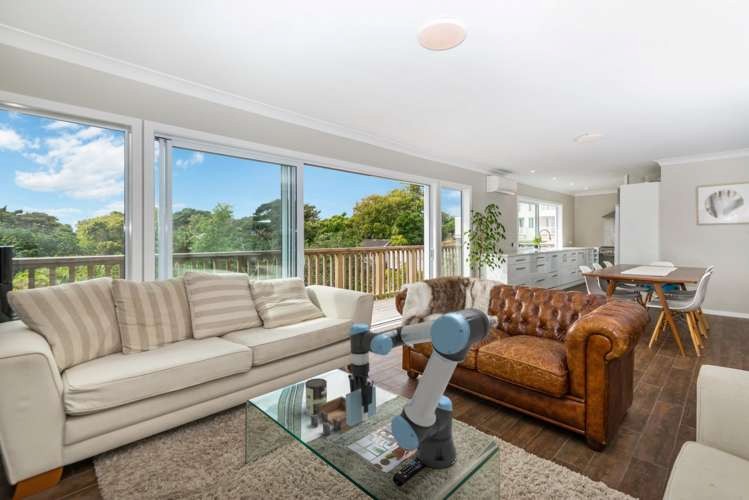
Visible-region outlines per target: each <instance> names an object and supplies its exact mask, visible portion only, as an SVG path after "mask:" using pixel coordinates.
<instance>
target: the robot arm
mask: <svg viewBox="0 0 749 500" xmlns="http://www.w3.org/2000/svg"><path fill="white" fill-rule="evenodd" d="M490 330H491V322H490V319H489V317H488V316H487V314H485V312H484V311H482V310H480V309H478V308H474V307H469V308H464V309H459V310H457V311H452V312H447V313H444V314H442V315H441V316H438V317H437V318H435V320H428V321H425V322H424V321H423V322H420V323H419V322H418V323H414V324H409V325H401V326H397V327H394V328H390V329H386V330H384V331H379V332H372V331H370V329H369V326H368V324H366V323H355V324H352V325H351V326H350V331H349V336H350V337H349V340H350V343H349V344H350V362H351V364H350V369H351V370H350V371H351V374H348V375H347V376H348V377H347V378H348V381H349V393H351V392H353V391H356V390H358V389H361V394H362V402H363V404H361V412H362V421H364V422H366V421H367V420H368V419H369V418H368V405H369V404H371V403H372V389H373V385H374V383H375V382H374V380H371V379H370V378H369V377H370V376H369V372H370V353H373V354H375V355H379V356H380V355H381V356H387V355H388V354H389V353H391V350H393V349H395V348H398V347H403V346H409V345H415V344H421V343H429V342H431V344H430V346H431V349H432V352H431V355H430V357H429V359H428V362H427V364H426V366H425V368H424V371H423V373H422V376H421V377H420V380H419V382H418V384H417V386H416V389H415V392H414V394H413V396H412V398H411V399H408V400H407V401H406V402H405V404H404V405H403V408H402V411H401V412H400V413H399V414H398V415H395V417H394V418H392V420H391V423H390V427H391V433H392V436H393V438H394V439H395V441H396V443H397V444H398V445H399V446H400V447H401V448H402V449H404V450H406V451H407V450H408V451H412V450H415V449H416V457H417V460H418V461H419V462H420V463H421V464H423V463H424V464H423V465H425V466H428V467H430V468H435V469H444V468H449V467H451V466H452V465H451V464H452V463H453V462H454V461H455V459H456V457H457V456H458V455H457V449H456V446H455V443H454V438H453V403H452V401H451V399H450V398H449V397H448V396H445V395H444V393H445V391H446V388H447V386H448V384H449V382H450V380H451V378H452V375H453V374H454V372H455V369H456V367H457V365H458V363H462V362H464V361H465V359H466V358H467V356H468V354H469V351H470V349H471V347H473V346H476V344H479V343H481V342H483V341H484V340H485V339H487V337H488V336H489V334H490ZM457 458H458V457H457ZM456 460H457V459H456ZM450 465H451V466H450Z"/></svg>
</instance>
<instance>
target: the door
mask: <svg viewBox="0 0 749 500" xmlns="http://www.w3.org/2000/svg"><path fill="white" fill-rule="evenodd" d="M376 389H377V387H376V385H374V384H373V389H372V403H371V404H369V405H368V419H369V418H372V417H374V416H376V415H377V390H376ZM345 398H346V424H347V425H349V426H353V425H355V424H357V423H360V422H362V412H361V404H363V402H362V394H361V389H358V390H356V391H353V392H351V393H350V392H348V393H346V394H345ZM362 423H363V422H362ZM360 424H361V423H360Z"/></svg>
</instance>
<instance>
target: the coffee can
mask: <svg viewBox="0 0 749 500" xmlns="http://www.w3.org/2000/svg"><path fill="white" fill-rule="evenodd" d="M327 384H328V381H327V380H326V379H324V378H311V379H308V380H306V381H305V382H304V385H305V413H306V415H308V416H310V417H311V416H312V415H314V416H316V417H318V406H319V405H321V404H324V403H326V402H328V398H327V397H328V392H327V391H328V388H327V387H328V386H327Z"/></svg>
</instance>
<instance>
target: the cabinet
mask: <svg viewBox="0 0 749 500" xmlns="http://www.w3.org/2000/svg"><path fill="white" fill-rule="evenodd" d="M319 420H320V421H322V422H323V423H322V432H323V434H325V435H326V436H331V425H332V427H333V428H332V429H335V431H339V432H340V433H344V432H346V431H348V430H350V429H352V428H353V427H356V426H358V425H360V424H362V423H364V422H365V421H362V422H360V423H357V424H355V425H353V426H349V425H347V424H346V396H345V397H344V396H342V395H341V396H338V397H336V398H334V399H331V400H329V401H327V402H326V403H324V404H321V405H319V406H318V416H314V415H312V416H310V425H311V426H312V427H314V428H318V427H319Z"/></svg>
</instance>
